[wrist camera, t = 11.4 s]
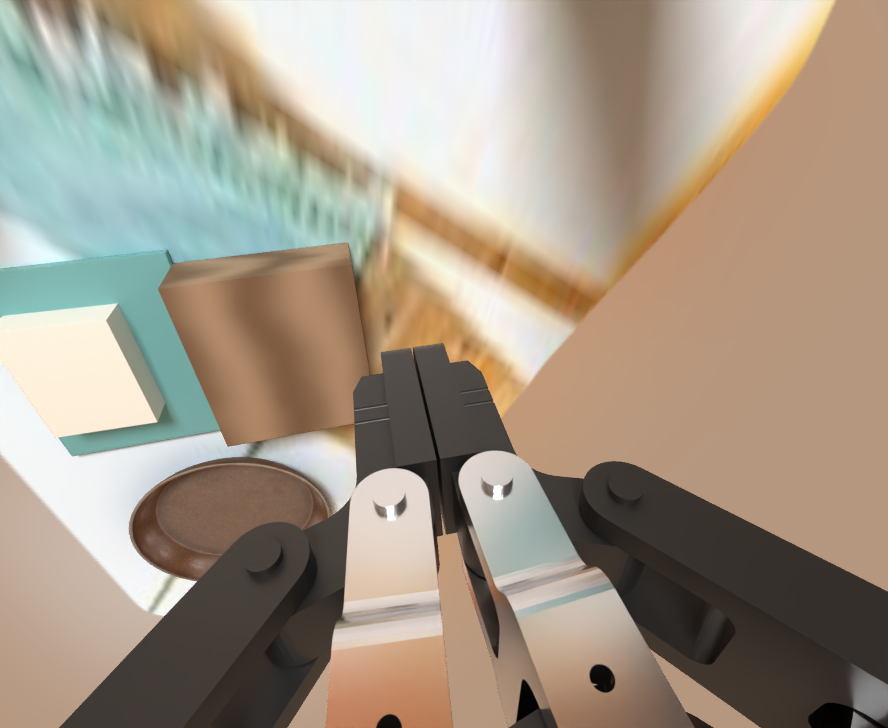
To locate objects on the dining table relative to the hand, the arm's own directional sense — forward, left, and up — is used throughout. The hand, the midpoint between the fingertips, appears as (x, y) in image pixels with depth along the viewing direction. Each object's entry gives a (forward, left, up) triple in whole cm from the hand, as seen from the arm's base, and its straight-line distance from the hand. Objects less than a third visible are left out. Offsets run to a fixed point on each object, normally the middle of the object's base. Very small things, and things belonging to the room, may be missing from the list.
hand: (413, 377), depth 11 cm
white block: (+21, +12, -22) cm, 32 cm away
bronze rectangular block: (+7, +13, -25) cm, 29 cm away
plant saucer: (+16, +32, -25) cm, 43 cm away
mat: (+19, +13, -25) cm, 34 cm away
